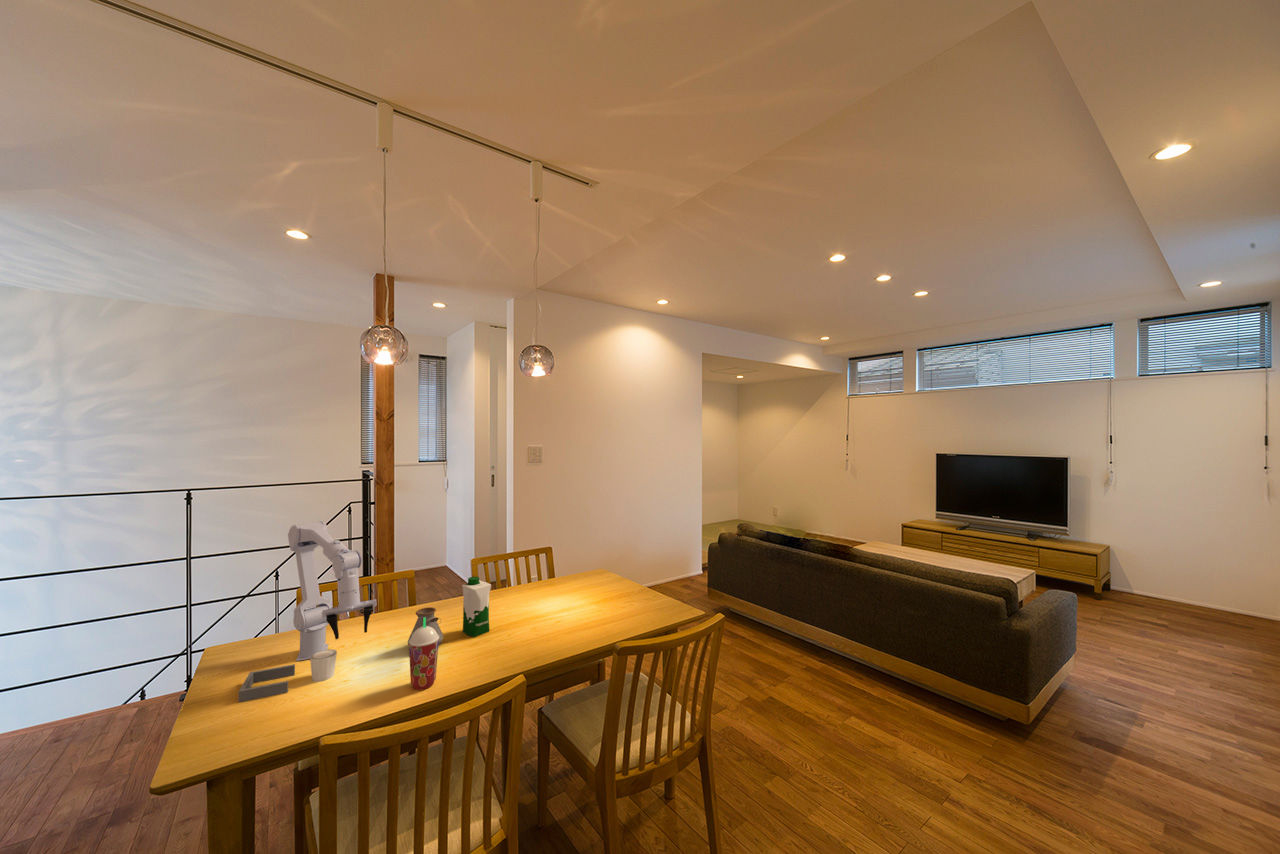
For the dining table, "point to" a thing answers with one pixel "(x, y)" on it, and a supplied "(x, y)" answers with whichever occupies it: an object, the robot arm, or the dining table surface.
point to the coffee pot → (427, 621)
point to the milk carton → (476, 607)
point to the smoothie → (423, 656)
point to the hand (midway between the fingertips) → (351, 635)
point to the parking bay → (265, 690)
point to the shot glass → (323, 664)
